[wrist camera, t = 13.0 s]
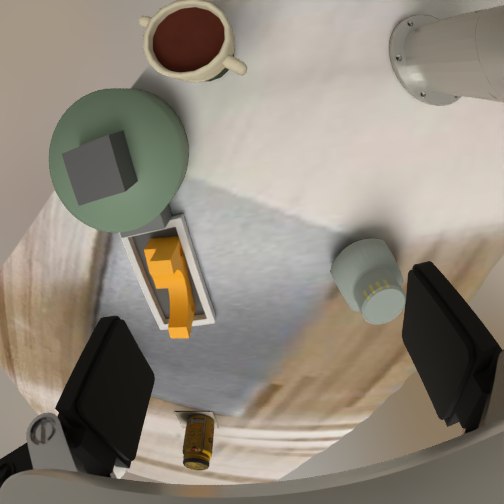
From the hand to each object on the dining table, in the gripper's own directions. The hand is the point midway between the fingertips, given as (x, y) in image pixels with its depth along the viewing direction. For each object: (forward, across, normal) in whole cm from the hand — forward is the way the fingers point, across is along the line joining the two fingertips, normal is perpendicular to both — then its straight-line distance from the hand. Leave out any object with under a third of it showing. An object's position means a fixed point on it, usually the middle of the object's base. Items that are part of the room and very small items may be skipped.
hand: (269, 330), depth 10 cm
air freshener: (+31, -12, +18) cm, 37 cm away
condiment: (+31, +23, +51) cm, 64 cm away
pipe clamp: (+30, +14, +14) cm, 36 cm away
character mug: (+31, +3, -13) cm, 33 cm away
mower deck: (+30, +16, +5) cm, 35 cm away
